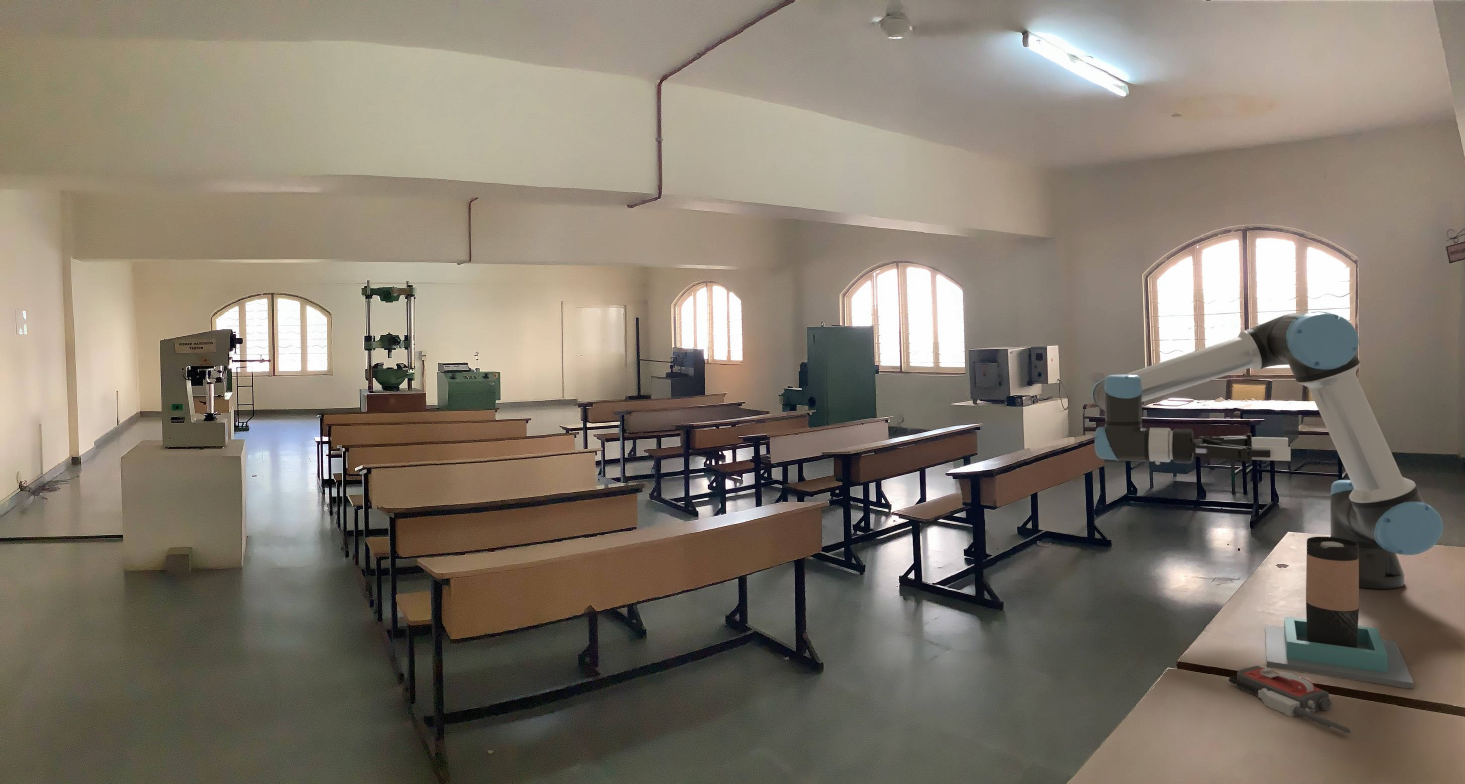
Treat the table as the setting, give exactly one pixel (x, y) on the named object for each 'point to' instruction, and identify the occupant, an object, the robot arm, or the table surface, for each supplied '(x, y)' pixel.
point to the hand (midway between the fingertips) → (1289, 449)
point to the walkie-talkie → (1286, 693)
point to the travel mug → (1332, 591)
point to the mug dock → (1336, 655)
